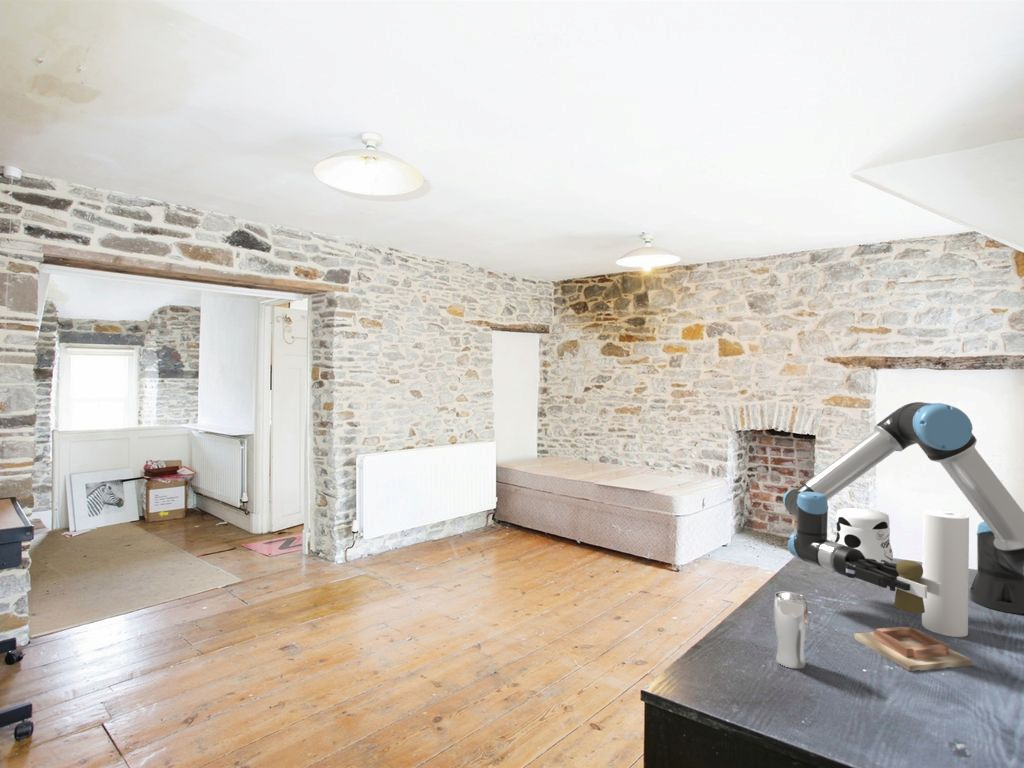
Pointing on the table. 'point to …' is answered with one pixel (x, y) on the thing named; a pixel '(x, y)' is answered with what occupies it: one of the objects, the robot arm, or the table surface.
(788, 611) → the beer glass
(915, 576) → the cork
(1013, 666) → the table surface
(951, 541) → the cylinder container
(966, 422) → the robot arm
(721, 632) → the table surface
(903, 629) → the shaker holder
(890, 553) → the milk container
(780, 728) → the table surface
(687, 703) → the table surface
